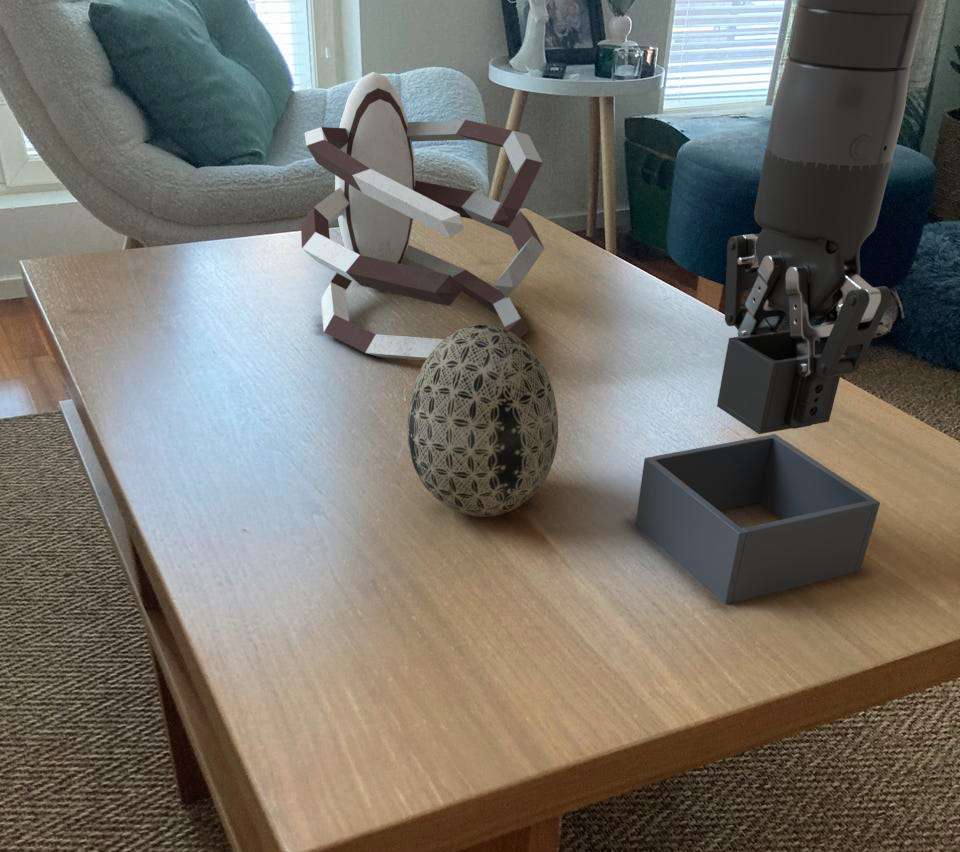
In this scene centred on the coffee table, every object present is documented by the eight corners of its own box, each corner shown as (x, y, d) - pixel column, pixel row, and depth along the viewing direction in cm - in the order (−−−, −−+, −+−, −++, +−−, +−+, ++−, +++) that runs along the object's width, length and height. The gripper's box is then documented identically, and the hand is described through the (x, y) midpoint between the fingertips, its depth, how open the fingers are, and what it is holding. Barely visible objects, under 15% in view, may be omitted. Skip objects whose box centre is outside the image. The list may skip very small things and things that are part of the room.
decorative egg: (438, 556, 78) (439, 366, 69) (389, 487, 87) (384, 310, 78) (576, 530, 82) (594, 346, 73) (516, 467, 90) (525, 295, 81)
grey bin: (759, 505, 86) (774, 433, 82) (858, 579, 77) (880, 502, 73) (634, 532, 82) (644, 457, 78) (723, 613, 73) (739, 533, 69)
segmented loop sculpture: (461, 264, 136) (589, 377, 112) (263, 288, 127) (356, 416, 103) (468, 57, 121) (619, 137, 97) (242, 67, 111) (347, 159, 88)
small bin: (784, 395, 75) (799, 327, 72) (829, 421, 72) (846, 352, 69) (716, 406, 73) (728, 337, 70) (758, 434, 70) (773, 363, 67)
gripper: (964, 168, 58) (885, 443, 69) (804, 122, 69) (755, 366, 79) (861, 176, 56) (794, 461, 66) (710, 127, 66) (672, 379, 76)
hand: (773, 408), depth 72 cm, fingers closed on small bin, 5 cm apart
